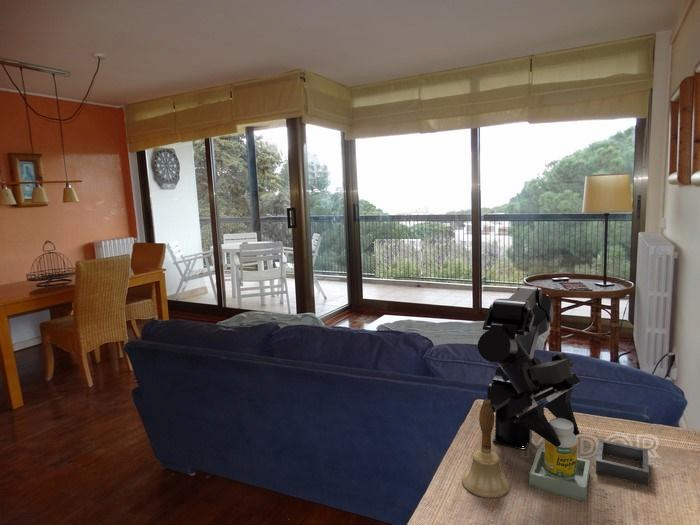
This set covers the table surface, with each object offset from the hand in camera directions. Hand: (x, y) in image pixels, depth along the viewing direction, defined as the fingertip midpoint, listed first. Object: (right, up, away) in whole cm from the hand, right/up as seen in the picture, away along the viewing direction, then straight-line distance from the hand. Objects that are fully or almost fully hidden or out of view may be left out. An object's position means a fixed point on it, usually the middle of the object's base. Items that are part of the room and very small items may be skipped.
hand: (568, 440), depth 82 cm
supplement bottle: (0, -7, +2) cm, 7 cm away
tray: (0, -8, +2) cm, 8 cm away
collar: (+12, -7, +5) cm, 15 cm away
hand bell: (-14, -9, +2) cm, 17 cm away
